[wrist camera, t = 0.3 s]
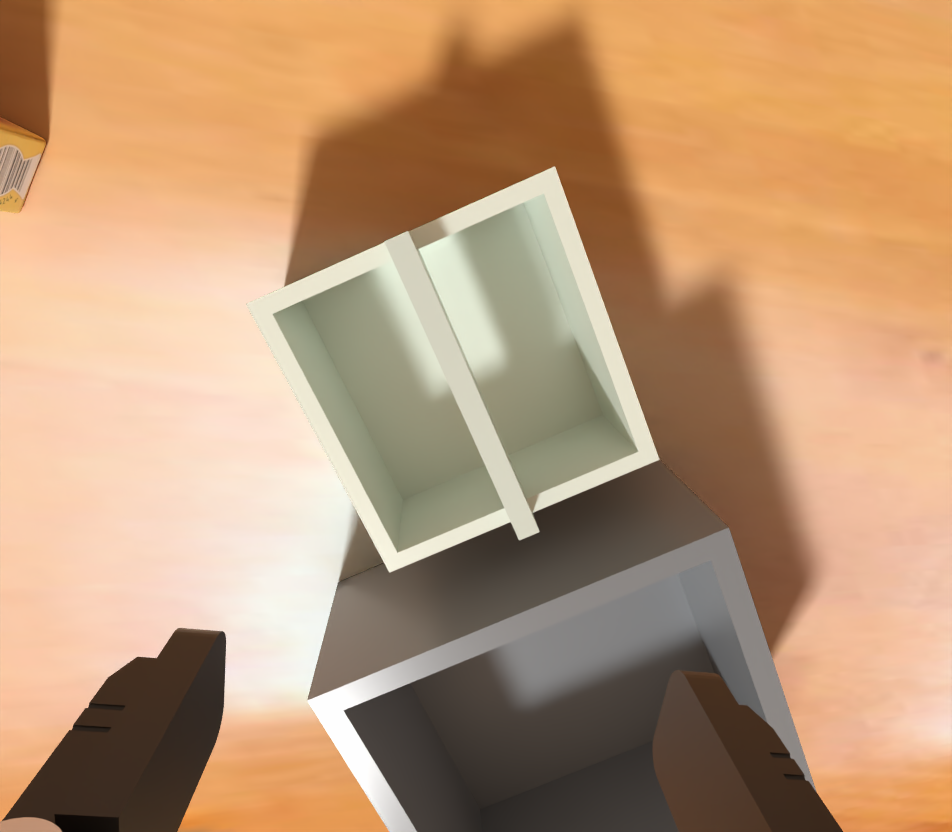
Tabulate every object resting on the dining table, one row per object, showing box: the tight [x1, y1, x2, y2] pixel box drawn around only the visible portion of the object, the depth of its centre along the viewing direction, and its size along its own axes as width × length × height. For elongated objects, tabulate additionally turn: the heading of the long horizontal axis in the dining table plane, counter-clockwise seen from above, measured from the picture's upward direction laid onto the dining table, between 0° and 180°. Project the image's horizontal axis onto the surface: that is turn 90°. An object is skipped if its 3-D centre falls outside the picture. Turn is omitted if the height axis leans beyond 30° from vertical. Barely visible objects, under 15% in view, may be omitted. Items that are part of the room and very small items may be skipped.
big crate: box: [307, 459, 816, 832], centre depth 35 cm, size 20×20×10 cm
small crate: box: [246, 166, 659, 573], centre depth 30 cm, size 14×14×9 cm
